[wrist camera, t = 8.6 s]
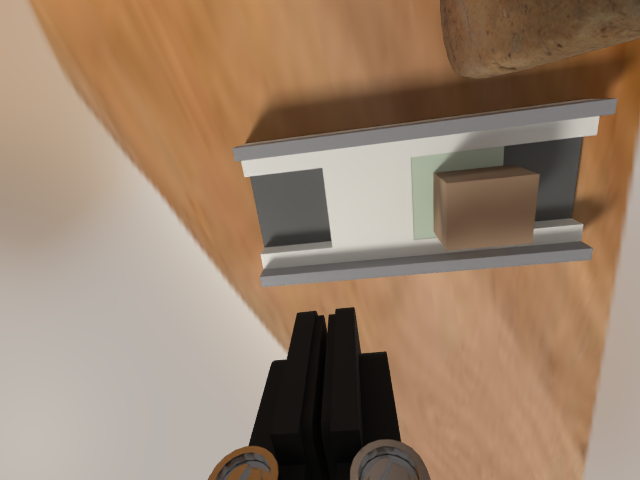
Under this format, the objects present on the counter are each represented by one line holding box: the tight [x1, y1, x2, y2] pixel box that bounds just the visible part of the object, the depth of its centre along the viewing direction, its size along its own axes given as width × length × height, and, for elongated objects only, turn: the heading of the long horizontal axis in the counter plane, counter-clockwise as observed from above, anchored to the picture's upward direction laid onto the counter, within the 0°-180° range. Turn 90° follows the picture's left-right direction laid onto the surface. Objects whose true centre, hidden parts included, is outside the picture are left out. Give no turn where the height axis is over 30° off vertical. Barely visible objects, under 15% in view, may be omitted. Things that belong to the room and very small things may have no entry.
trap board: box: [232, 98, 617, 287], centre depth 29 cm, size 12×27×4 cm, turn 98°
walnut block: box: [433, 164, 540, 250], centre depth 26 cm, size 5×6×4 cm
